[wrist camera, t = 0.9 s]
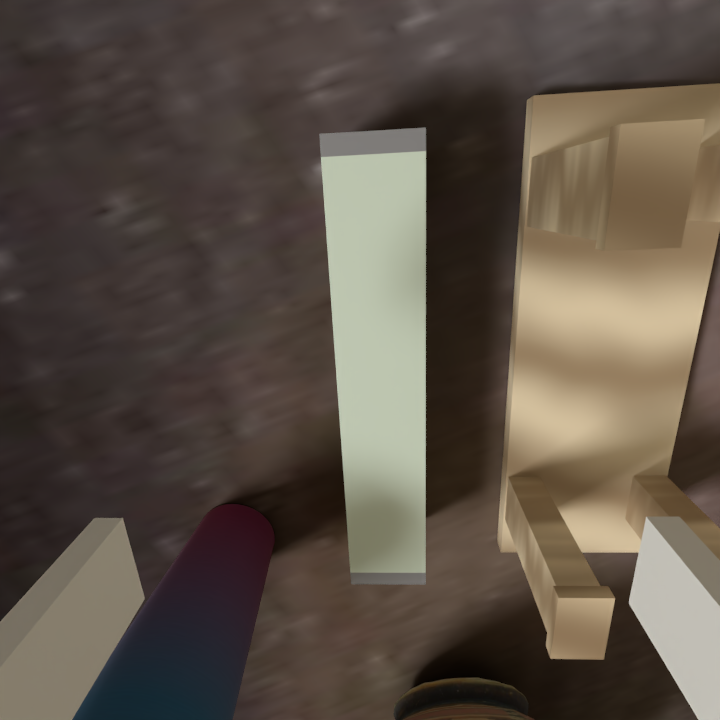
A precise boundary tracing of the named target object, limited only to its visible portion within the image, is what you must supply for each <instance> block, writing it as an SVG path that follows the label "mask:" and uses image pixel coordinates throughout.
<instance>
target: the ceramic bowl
mask: <svg viewBox="0 0 720 720" xmlns="http://www.w3.org/2000/svg"><path fill="white" fill-rule="evenodd" d="M528 706H529V704H528V701H527V699H526V697H525V696H524V694H522V693H521V692H519V691H518V690H517V689H516V688H514V687H513V686H511V685H507V684H503V683H500V682H497V681H493V680H487V679H482V678H451V679H442V680H437V681H433V682H426V683H423V684H421V685H419V686H417V687H414V688H412V689H410V690H409V691H408V692H406V693H405V694H404V695H402V696H401V697H400V698H399V700H398V701H397V702H396V703H395V705H394V717H395V719H396V720H535V719H533V718H531V717H529V716H527V714H528Z"/></svg>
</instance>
